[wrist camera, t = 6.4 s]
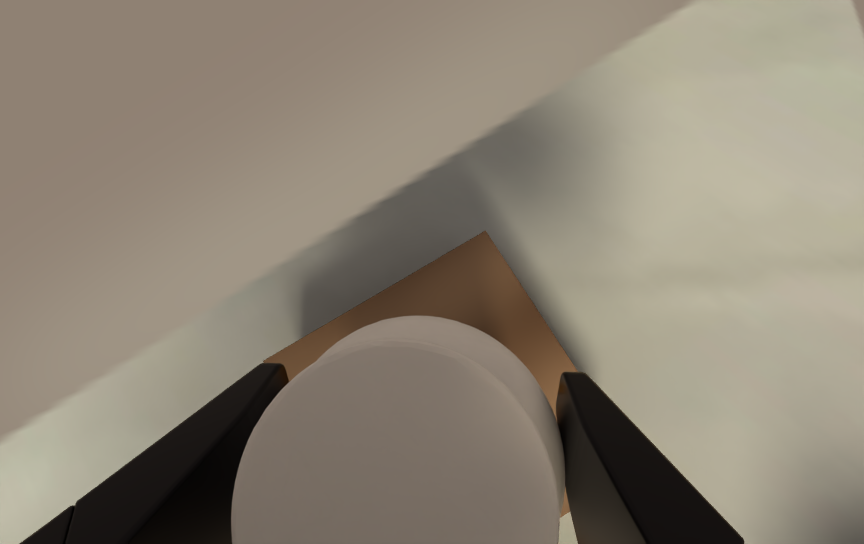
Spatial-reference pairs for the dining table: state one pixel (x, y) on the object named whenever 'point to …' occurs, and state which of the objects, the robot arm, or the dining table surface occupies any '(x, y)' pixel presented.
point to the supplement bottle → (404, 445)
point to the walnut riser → (454, 314)
